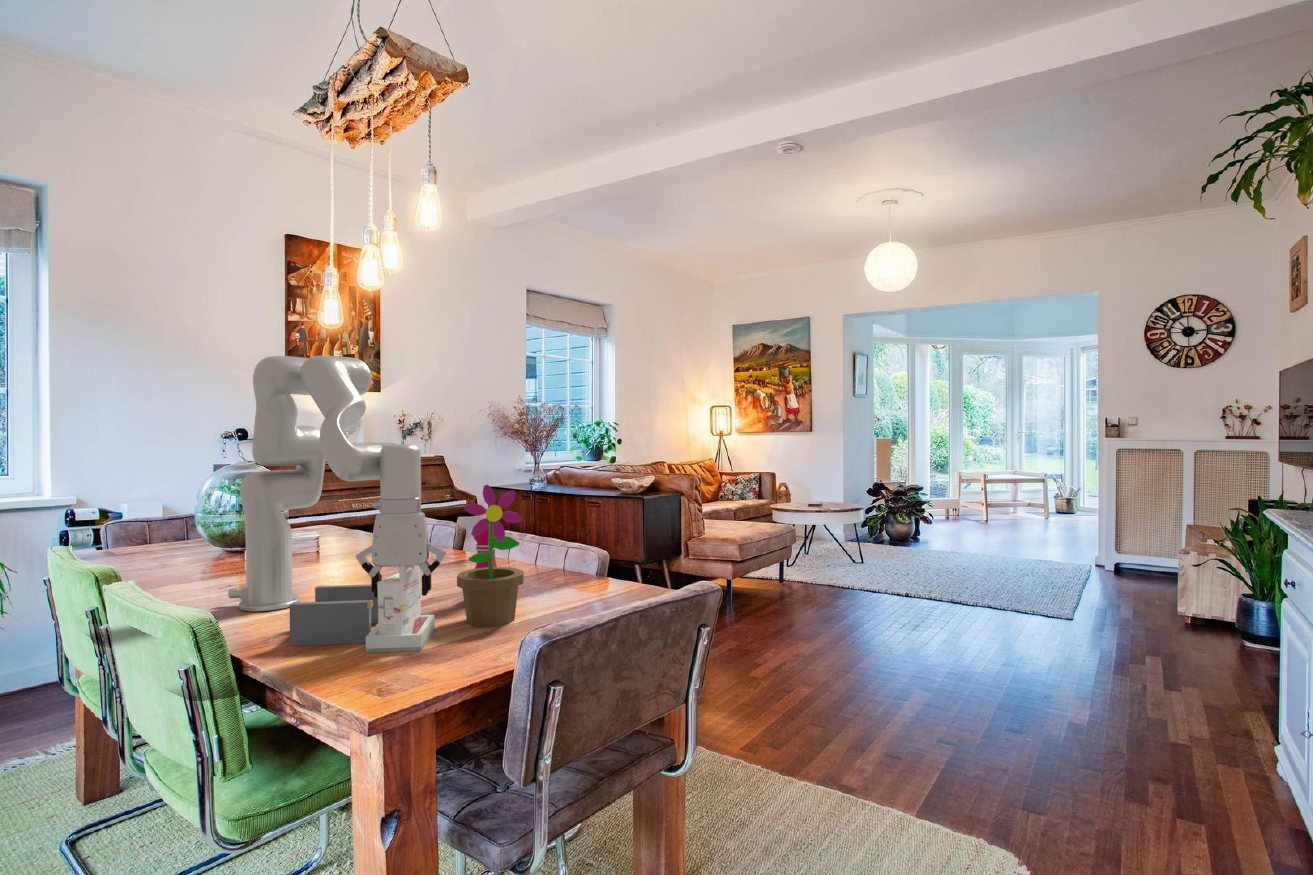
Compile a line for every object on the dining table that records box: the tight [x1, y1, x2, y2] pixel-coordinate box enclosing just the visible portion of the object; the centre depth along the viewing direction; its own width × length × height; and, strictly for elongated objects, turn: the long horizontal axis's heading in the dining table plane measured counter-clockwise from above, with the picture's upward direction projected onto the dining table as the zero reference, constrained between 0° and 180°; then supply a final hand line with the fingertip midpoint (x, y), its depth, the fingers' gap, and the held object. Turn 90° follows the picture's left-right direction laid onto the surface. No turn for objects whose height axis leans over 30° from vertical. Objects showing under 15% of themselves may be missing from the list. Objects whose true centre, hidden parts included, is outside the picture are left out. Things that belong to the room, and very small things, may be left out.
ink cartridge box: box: [377, 565, 422, 635], centre depth 139 cm, size 9×5×15 cm, turn 173°
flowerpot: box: [456, 484, 525, 628], centre depth 152 cm, size 14×14×30 cm
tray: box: [365, 614, 436, 654], centre depth 139 cm, size 10×14×3 cm
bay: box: [289, 584, 378, 647], centre depth 144 cm, size 15×16×8 cm
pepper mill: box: [473, 516, 498, 569], centre depth 171 cm, size 7×7×20 cm
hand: (401, 594), depth 138 cm, fingers open, 8 cm apart
